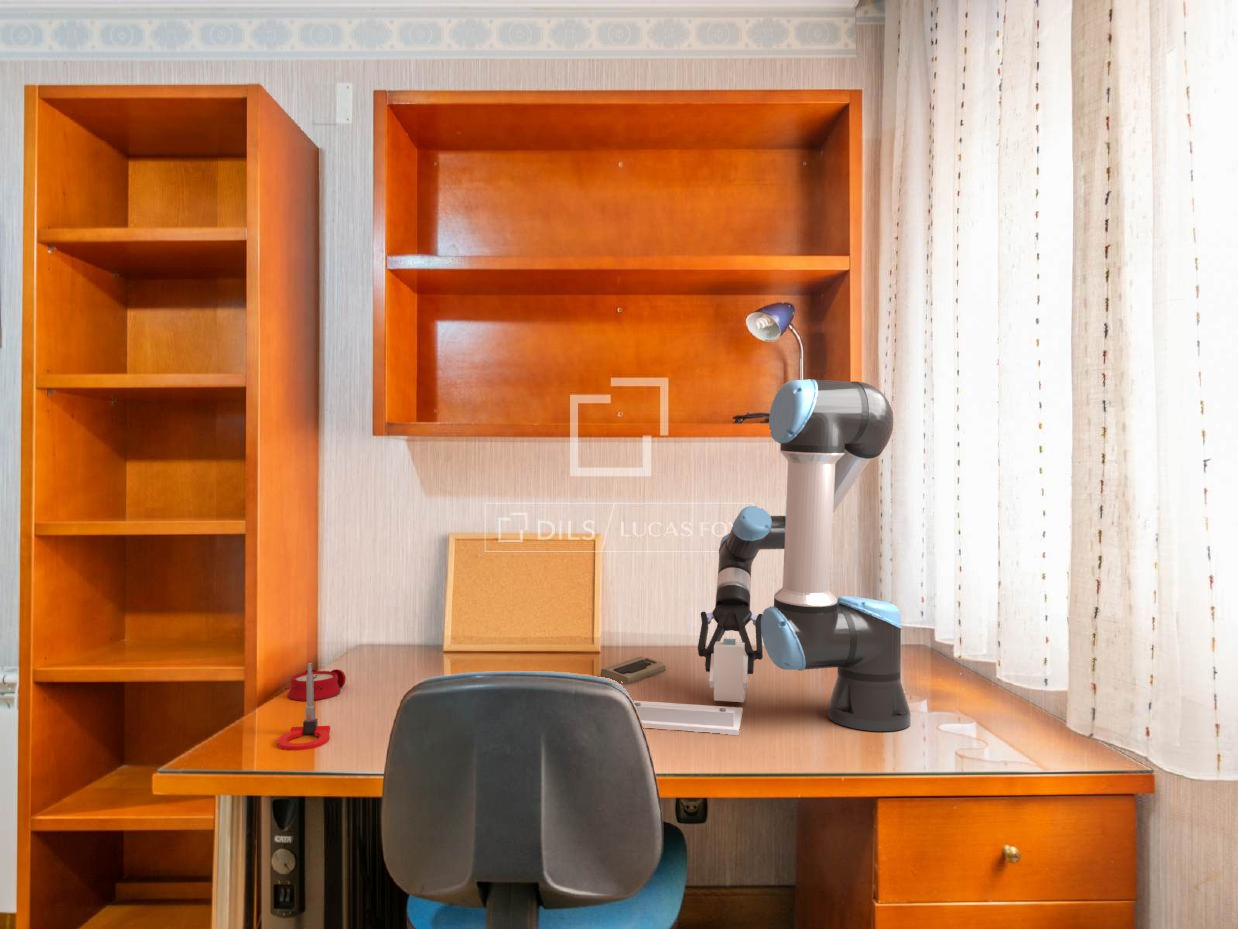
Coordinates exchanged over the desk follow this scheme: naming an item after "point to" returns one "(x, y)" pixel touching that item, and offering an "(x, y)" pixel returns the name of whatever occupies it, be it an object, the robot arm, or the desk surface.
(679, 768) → the desk surface
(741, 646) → the block
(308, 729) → the tow hook
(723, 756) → the desk surface
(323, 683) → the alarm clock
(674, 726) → the panel board
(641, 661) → the computer
